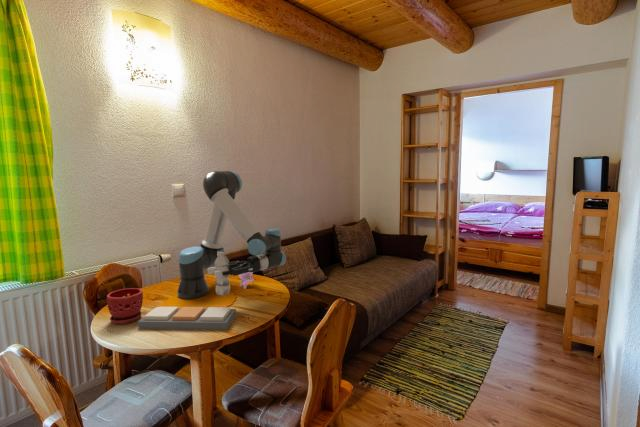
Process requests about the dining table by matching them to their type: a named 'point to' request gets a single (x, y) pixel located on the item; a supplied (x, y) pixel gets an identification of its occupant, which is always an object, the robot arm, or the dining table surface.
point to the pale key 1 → (161, 313)
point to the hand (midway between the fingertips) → (211, 273)
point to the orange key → (188, 313)
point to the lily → (246, 278)
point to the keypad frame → (188, 323)
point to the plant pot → (125, 305)
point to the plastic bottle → (223, 281)
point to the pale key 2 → (215, 314)
